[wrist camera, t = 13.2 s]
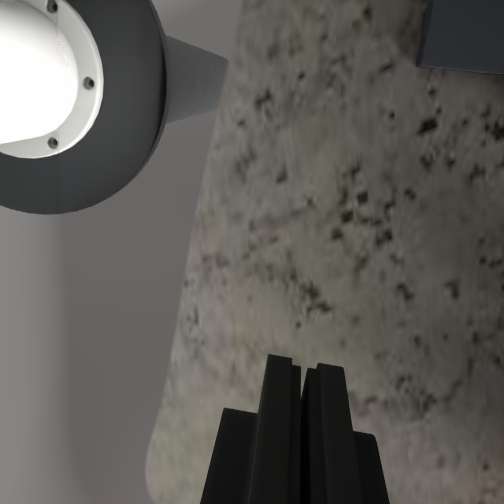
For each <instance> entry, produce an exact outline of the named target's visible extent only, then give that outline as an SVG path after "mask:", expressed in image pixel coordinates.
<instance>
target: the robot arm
mask: <svg viewBox="0 0 504 504" xmlns="http://www.w3.org/2000/svg"><path fill="white" fill-rule="evenodd" d="M56 5H57V6H58V8H57V11H56V10H55V6H56ZM91 80H93V81H94V87H92V86H91V83H90V82H91ZM103 84H104V78H103V69H102V62H101V58H100V55H99V51H98V47H97V45H96V42H95V40H94V38H93V36H92V34H91V32H90V30H89V28H88V27H87V25H86V24H85V22H84V21H83V19H82V18H81V16H80V15H79V14H78V13H77V11H76V10H75V9H74V8H73V7H72V6H71V5H70V4H69V3H68V2H67V1H66V0H0V152H2V153H4V154H8V155H11V156H15V157H19V158H41V157H47V156H51V155H54V154H58V153H61V152H63V151H65V150H67V149H69V148H70V147H72V146H74V145H75V144H76V143H77V142H78V141H80V140H81V139H82V138H83V137H84V136H85V134H86V133H87V132H88V131H89V129H90V128H91V127H92V125H93V123H94V121H95V119H96V117H97V115H98V113H99V109H100V105H101V101H102V97H103ZM56 140H57V142H58V145H57V144H56V142H55V141H56ZM200 504H390V503H389V499H388V494H387V489H386V484H385V479H384V475H383V470H382V465H381V460H380V456H379V451H378V446H377V442H376V438H375V436H374V435H373V434H367V433H362V432H356V431H353V428H352V421H351V414H350V408H349V401H348V394H347V387H346V380H345V374H344V368H343V367H340V366H334V365H328V364H322V363H318V364H317V367H316V369H313V368H308V369H307V372H306V377H305V382H304V387H303V392H302V396H301V366H296V365H292V358H288V357H282V356H277V355H271V354H268V358H267V363H266V369H265V375H264V381H263V386H262V392H261V398H260V404H259V410H258V414H257V413H252V412H246V411H241V410H235V409H230V408H224V409H223V413H222V417H221V421H220V425H219V429H218V433H217V437H216V441H215V446H214V450H213V454H212V458H211V462H210V466H209V470H208V474H207V478H206V482H205V486H204V490H203V494H202V498H201V502H200Z"/></svg>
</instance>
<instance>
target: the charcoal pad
mask: <svg viewBox="0 0 504 504" xmlns="http://www.w3.org/2000/svg"><path fill="white" fill-rule="evenodd" d="M416 67H425V68H435V69H445V70H455V71H464V72H474V73H484V74H493V75H503V76H504V0H429V1H428V6H427V11H426V16H425V21H424V26H423V31H422V35H421V40H420V45H419V50H418V55H417V60H416Z"/></svg>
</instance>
